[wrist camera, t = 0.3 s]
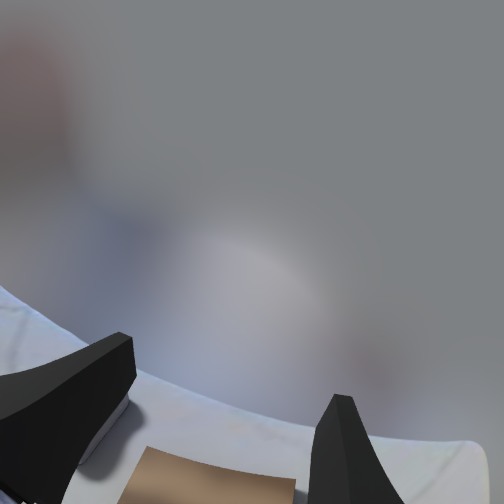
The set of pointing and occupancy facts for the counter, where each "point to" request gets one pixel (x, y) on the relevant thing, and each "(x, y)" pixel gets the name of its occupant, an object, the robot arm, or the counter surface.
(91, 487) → the counter surface
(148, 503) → the walnut base
